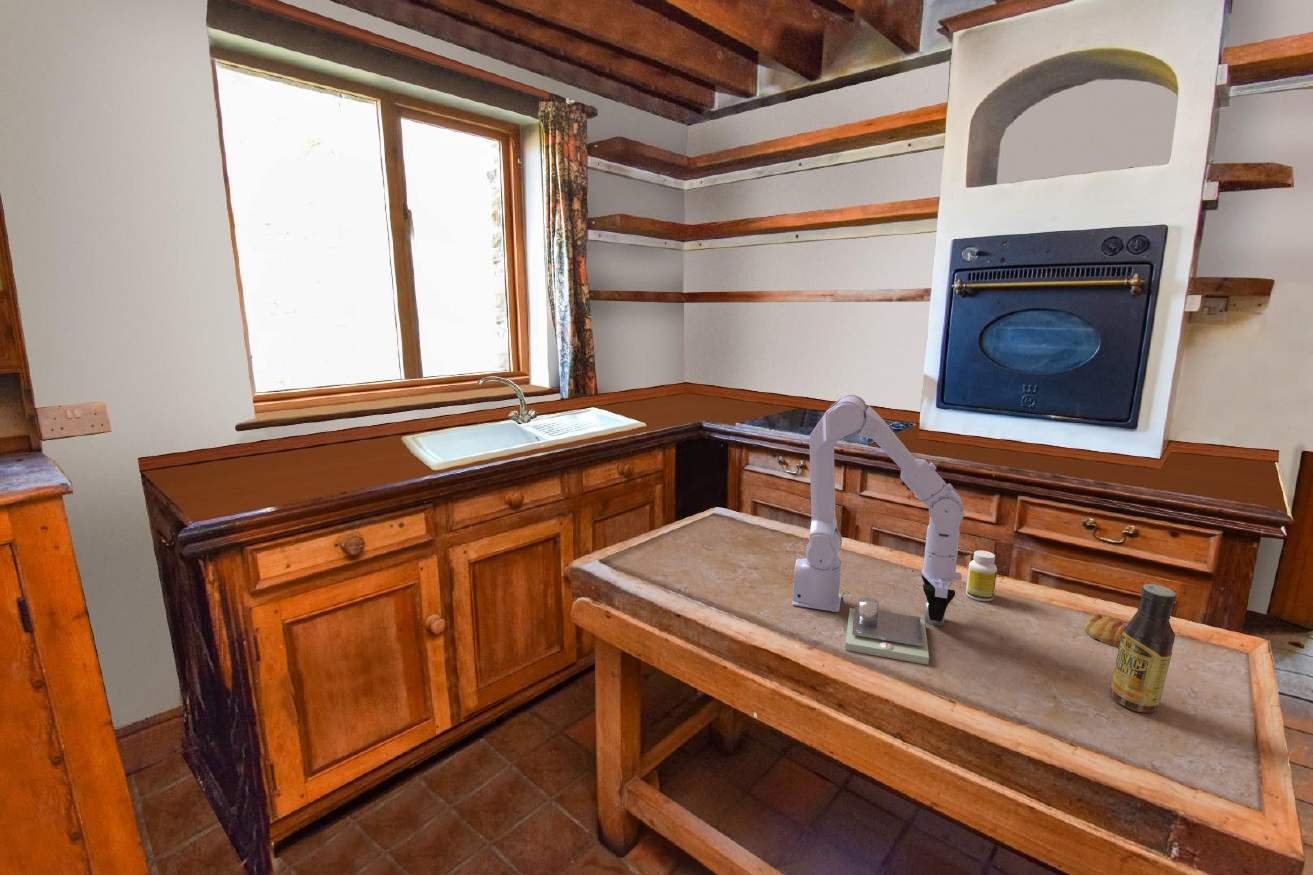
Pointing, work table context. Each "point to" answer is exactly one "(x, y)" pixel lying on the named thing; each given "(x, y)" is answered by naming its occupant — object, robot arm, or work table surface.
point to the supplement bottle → (981, 576)
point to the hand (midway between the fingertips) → (934, 615)
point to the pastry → (1105, 629)
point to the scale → (887, 645)
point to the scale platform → (891, 628)
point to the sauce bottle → (1145, 652)
